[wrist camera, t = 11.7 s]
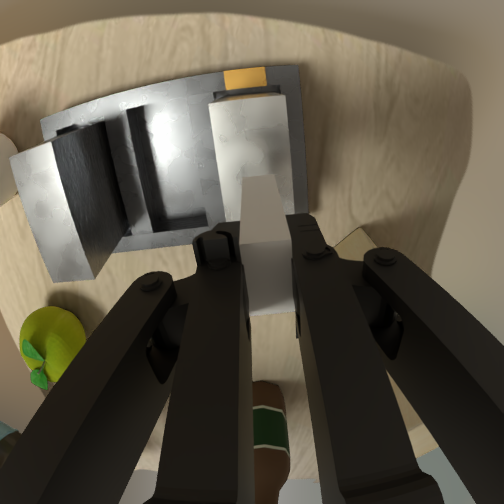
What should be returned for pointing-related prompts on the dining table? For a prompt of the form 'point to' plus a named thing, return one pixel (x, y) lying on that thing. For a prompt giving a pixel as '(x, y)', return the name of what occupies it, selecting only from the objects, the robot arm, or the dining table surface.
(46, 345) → the fruit
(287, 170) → the silver rectangular block
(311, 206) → the dining table surface
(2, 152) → the potion bottle
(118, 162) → the rack
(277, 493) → the beer bottle
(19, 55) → the dining table surface
